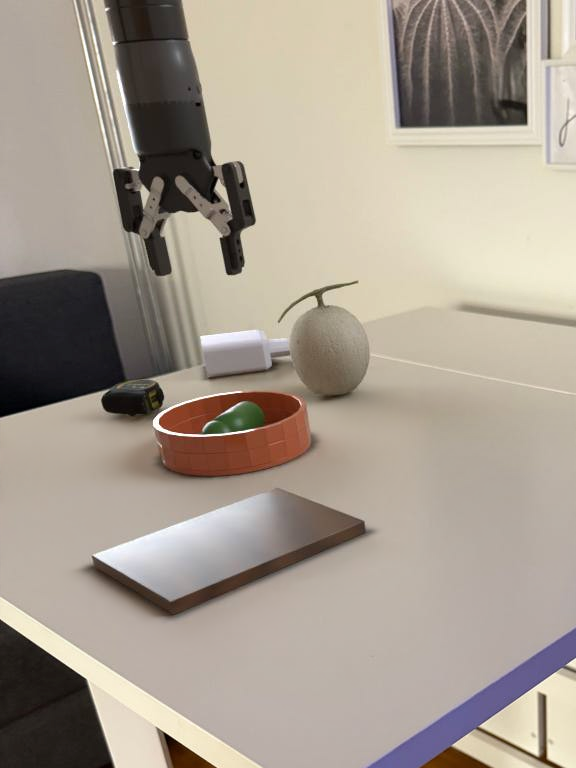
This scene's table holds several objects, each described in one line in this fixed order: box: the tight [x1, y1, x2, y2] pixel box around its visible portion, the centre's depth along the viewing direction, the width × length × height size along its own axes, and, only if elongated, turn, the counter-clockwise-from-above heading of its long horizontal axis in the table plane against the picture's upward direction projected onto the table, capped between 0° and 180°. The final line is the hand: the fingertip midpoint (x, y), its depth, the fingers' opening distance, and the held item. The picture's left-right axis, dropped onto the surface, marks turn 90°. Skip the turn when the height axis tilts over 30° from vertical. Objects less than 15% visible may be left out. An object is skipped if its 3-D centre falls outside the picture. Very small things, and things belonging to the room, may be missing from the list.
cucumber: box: [201, 401, 264, 435], centre depth 108 cm, size 11×4×4 cm, turn 166°
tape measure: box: [100, 378, 165, 418], centre depth 124 cm, size 7×7×4 cm
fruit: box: [277, 279, 371, 397], centre depth 123 cm, size 10×12×15 cm
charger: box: [199, 329, 290, 378], centre depth 142 cm, size 5×9×15 cm
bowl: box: [152, 390, 312, 477], centre depth 108 cm, size 17×17×4 cm
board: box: [91, 487, 367, 615], centre depth 84 cm, size 20×14×1 cm
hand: (199, 274), depth 98 cm, fingers open, 8 cm apart
